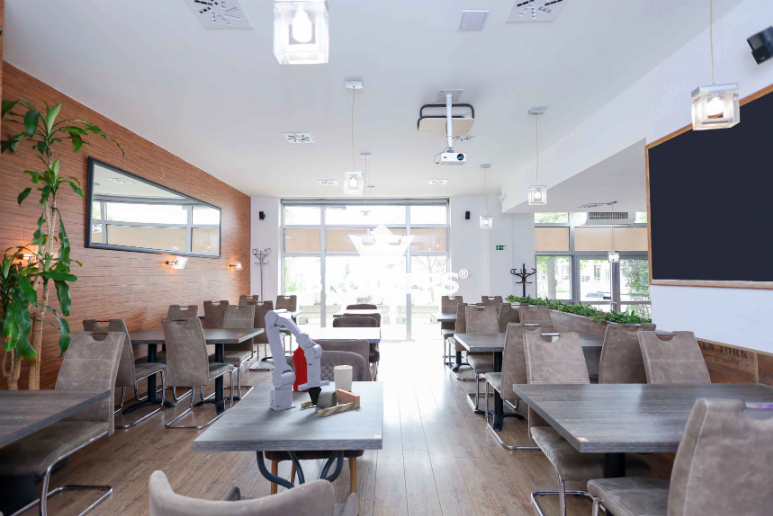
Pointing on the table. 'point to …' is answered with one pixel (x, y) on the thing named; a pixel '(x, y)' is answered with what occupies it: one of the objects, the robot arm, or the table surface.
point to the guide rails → (331, 409)
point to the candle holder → (343, 377)
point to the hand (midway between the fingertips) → (314, 404)
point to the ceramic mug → (326, 400)
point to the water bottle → (299, 368)
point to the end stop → (348, 397)
